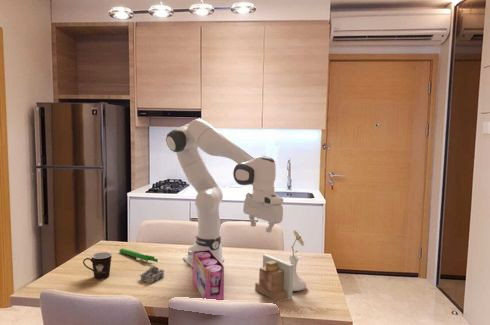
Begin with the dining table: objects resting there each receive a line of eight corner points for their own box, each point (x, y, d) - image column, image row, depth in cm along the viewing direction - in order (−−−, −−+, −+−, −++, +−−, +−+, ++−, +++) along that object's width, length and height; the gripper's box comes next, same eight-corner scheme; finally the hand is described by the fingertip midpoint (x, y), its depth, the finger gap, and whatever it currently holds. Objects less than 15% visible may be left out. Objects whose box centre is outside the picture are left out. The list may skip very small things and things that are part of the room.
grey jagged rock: (154, 273, 175) (155, 264, 175) (166, 276, 171) (166, 268, 171) (137, 280, 166) (137, 271, 166) (149, 284, 162) (149, 275, 162)
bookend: (253, 288, 160) (254, 257, 159) (265, 284, 164) (266, 253, 163) (280, 302, 148) (281, 268, 147) (292, 297, 152) (293, 264, 151)
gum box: (225, 301, 148) (226, 268, 147) (206, 304, 145) (206, 270, 144) (209, 278, 170) (209, 249, 169) (192, 280, 167) (192, 251, 166)
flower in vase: (305, 295, 155) (308, 236, 153) (278, 292, 157) (280, 234, 155) (306, 282, 168) (308, 228, 166) (281, 280, 170) (283, 226, 168)
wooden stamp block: (258, 286, 155) (259, 261, 154) (269, 283, 159) (270, 258, 158) (271, 293, 149) (272, 267, 148) (282, 289, 153) (283, 263, 152)
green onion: (118, 255, 200) (153, 265, 182) (118, 249, 200) (153, 259, 182) (126, 253, 204) (161, 263, 186) (126, 247, 204) (161, 256, 185)
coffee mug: (115, 274, 171) (115, 253, 171) (103, 281, 163) (102, 259, 162) (95, 270, 175) (95, 250, 174) (81, 277, 167) (81, 256, 166)
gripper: (240, 192, 158) (238, 223, 159) (275, 201, 142) (272, 236, 144) (252, 191, 162) (249, 222, 163) (286, 200, 146) (283, 234, 148)
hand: (260, 229), depth 153 cm, fingers open, 8 cm apart
